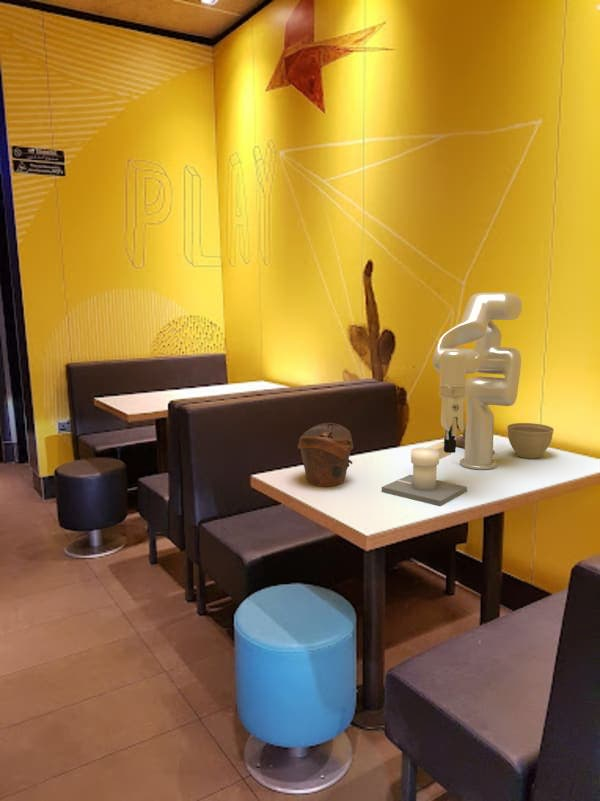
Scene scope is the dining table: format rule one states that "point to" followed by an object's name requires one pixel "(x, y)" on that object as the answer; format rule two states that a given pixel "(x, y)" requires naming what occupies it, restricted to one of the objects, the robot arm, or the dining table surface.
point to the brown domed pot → (326, 454)
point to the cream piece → (428, 455)
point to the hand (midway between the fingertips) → (449, 451)
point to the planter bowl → (529, 439)
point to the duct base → (425, 495)
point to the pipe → (460, 439)
